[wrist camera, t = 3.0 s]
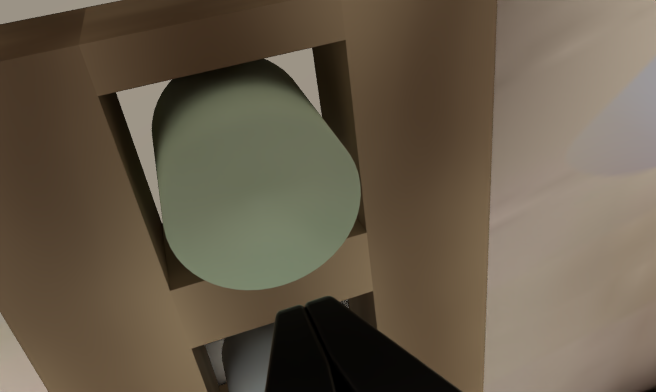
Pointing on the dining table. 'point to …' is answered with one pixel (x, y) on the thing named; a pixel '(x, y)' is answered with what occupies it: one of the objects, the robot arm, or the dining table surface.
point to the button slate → (247, 359)
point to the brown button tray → (147, 230)
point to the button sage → (250, 177)
